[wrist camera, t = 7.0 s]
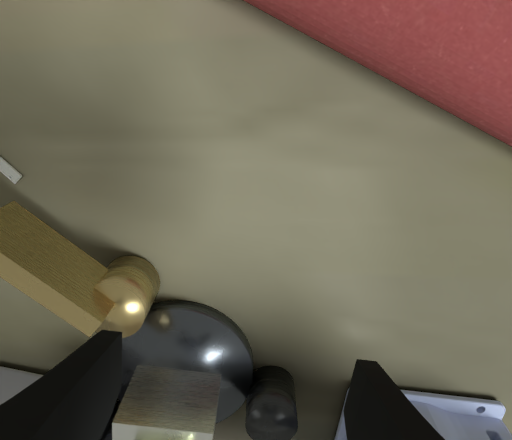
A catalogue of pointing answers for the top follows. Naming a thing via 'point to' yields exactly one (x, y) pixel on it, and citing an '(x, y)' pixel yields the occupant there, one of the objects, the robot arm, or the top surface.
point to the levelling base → (192, 347)
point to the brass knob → (74, 276)
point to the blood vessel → (422, 48)
